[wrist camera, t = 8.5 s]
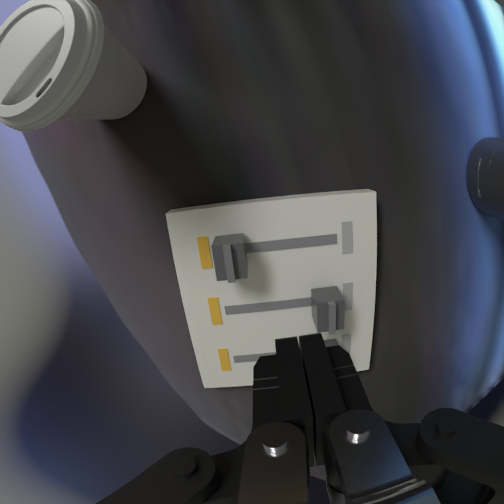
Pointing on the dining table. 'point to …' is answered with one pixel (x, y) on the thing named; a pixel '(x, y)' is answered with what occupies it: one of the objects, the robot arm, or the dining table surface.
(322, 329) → the middle switch
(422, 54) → the dining table surface
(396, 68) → the dining table surface
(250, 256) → the switch panel
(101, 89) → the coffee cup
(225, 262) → the front switch
